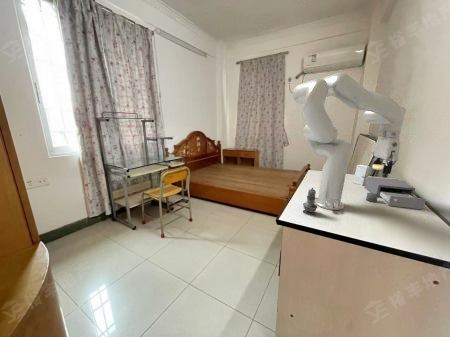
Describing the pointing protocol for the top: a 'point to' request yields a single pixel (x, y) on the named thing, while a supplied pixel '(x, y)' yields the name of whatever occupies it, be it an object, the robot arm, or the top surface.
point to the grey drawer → (402, 200)
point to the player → (387, 186)
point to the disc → (378, 167)
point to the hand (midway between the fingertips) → (380, 171)
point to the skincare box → (361, 174)
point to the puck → (371, 197)
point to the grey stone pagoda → (310, 203)
